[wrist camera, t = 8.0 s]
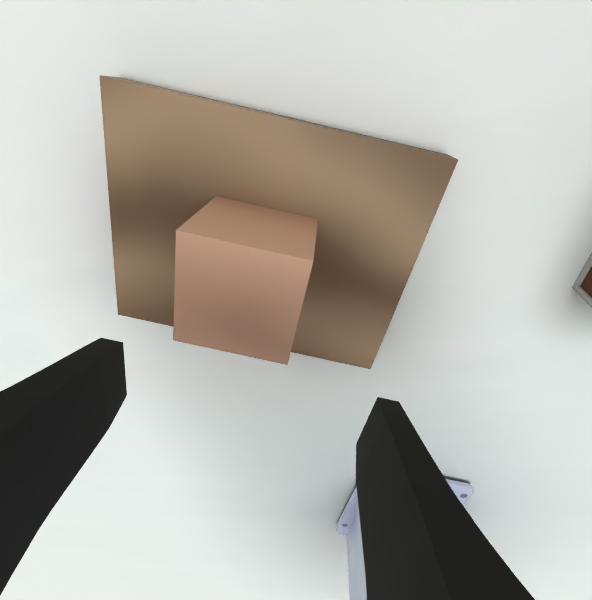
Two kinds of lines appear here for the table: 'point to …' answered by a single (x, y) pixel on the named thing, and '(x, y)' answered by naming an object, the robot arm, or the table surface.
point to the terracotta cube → (242, 278)
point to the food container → (585, 282)
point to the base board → (268, 205)
